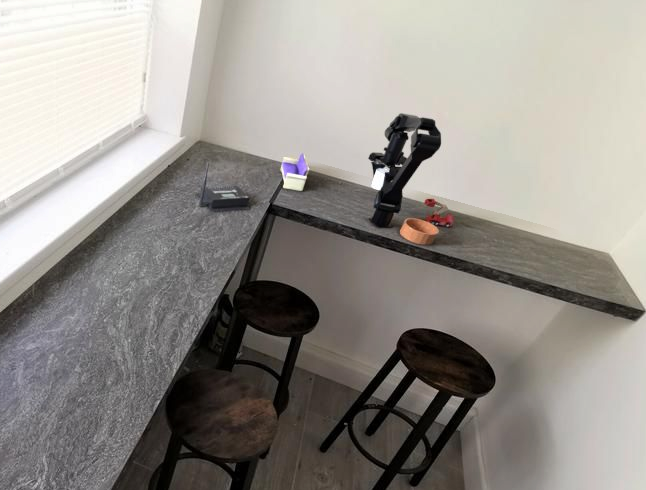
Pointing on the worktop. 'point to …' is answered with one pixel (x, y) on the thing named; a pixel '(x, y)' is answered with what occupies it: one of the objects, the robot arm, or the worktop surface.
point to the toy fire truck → (435, 216)
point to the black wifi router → (223, 197)
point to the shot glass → (379, 178)
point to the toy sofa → (294, 172)
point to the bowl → (419, 231)
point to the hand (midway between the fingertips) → (379, 184)
